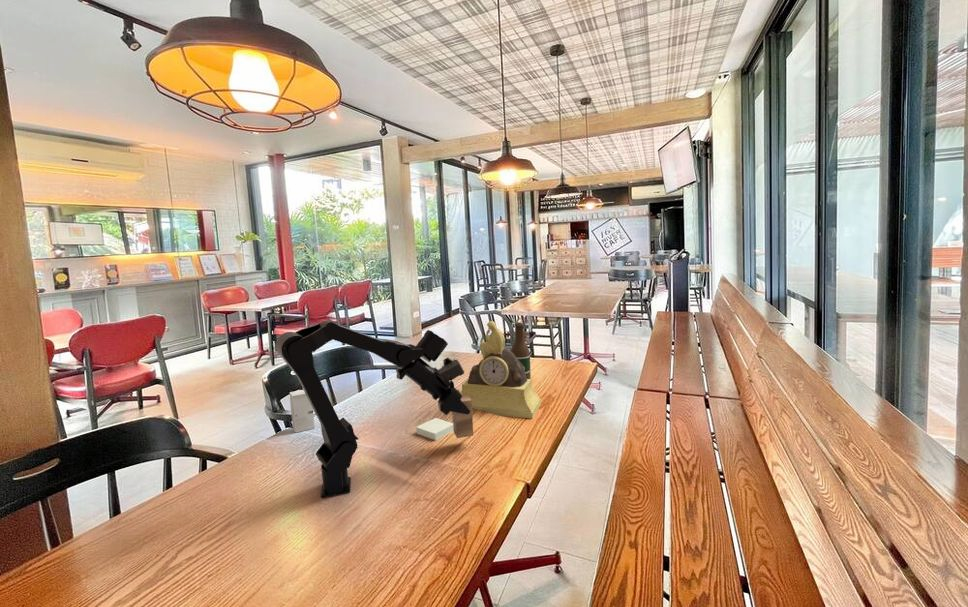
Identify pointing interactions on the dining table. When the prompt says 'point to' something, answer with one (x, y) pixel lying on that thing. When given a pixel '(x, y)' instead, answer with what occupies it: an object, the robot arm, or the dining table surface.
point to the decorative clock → (500, 381)
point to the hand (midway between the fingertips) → (467, 409)
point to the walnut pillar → (463, 420)
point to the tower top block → (435, 429)
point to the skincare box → (301, 411)
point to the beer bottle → (521, 349)
